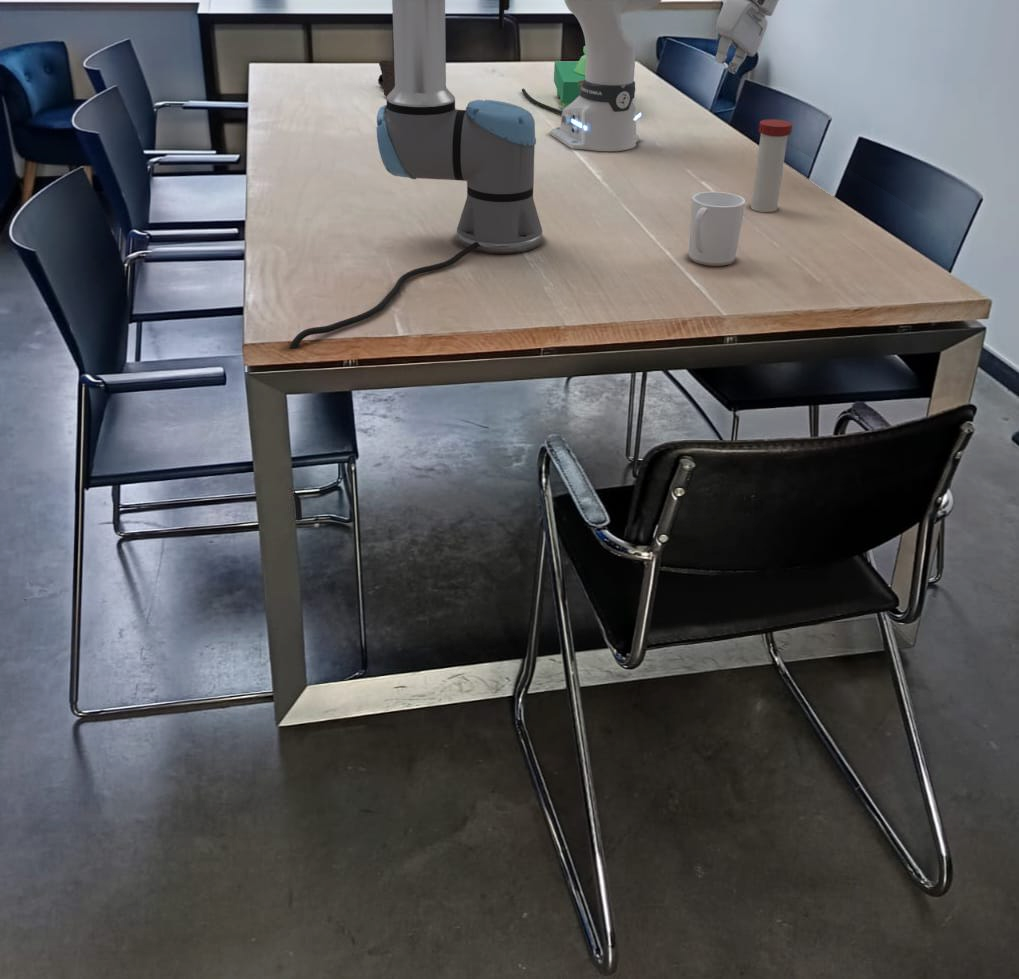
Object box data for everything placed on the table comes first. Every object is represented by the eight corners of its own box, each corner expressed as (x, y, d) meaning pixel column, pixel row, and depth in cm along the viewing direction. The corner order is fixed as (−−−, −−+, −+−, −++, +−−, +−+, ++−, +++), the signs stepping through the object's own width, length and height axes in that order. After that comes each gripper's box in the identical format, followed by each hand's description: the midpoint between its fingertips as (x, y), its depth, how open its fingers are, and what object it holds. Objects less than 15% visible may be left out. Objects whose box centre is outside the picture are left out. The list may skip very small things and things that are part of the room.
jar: (774, 213, 213) (787, 129, 204) (748, 210, 214) (760, 126, 206) (778, 206, 217) (790, 123, 208) (753, 203, 218) (764, 121, 210)
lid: (788, 137, 204) (790, 128, 204) (755, 134, 206) (757, 124, 205) (793, 130, 209) (794, 121, 208) (760, 126, 211) (762, 117, 210)
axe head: (443, 87, 294) (392, 77, 287) (436, 115, 299) (385, 106, 292) (421, 62, 307) (371, 52, 300) (414, 89, 311) (365, 80, 304)
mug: (702, 245, 195) (709, 188, 190) (747, 257, 190) (755, 198, 185) (669, 261, 188) (675, 202, 182) (714, 274, 183) (722, 213, 177)
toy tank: (616, 42, 301) (635, 67, 272) (613, 89, 308) (630, 118, 278) (553, 41, 300) (564, 66, 271) (550, 88, 307) (561, 117, 277)
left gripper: (534, -91, 215) (530, 25, 226) (409, -94, 217) (412, 20, 229) (530, -88, 209) (526, 31, 220) (401, -92, 211) (405, 26, 222)
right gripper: (753, 7, 228) (724, 72, 233) (728, -21, 210) (697, 50, 214) (780, 16, 226) (751, 83, 230) (757, -11, 208) (725, 61, 212)
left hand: (468, 26), depth 224 cm, fingers open, 13 cm apart
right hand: (724, 67), depth 222 cm, fingers open, 8 cm apart
